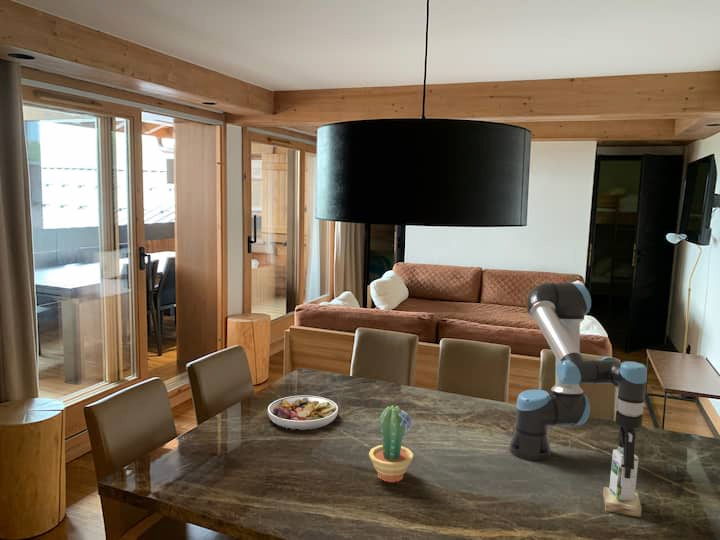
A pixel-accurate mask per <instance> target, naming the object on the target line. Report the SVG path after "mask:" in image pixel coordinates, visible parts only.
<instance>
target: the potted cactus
mask: <svg viewBox="0 0 720 540" xmlns="http://www.w3.org/2000/svg"><path fill="white" fill-rule="evenodd" d="M411 426H412V419H411V417H410V415H409V413H406V412H405V411H404V410H402V409H401V408H400V407H399V406H398V405H397V406H395V405H393V404H392V405H391V406H390V405H389V406H386V407H385V409H384V410H383V412H382V413H381V414H380V416H379V427H380V432H381V437H382V444H380V445H379V444H378V445H377V446H374V447H372V448H371V449H370V450H369V452H368V457H369V459H370V460H371V462H372V466H373V467H374V469H375V470H376V473H377V475H378V476H377V477H378V479H379V478H380V479H379V480H381V479H382V480H381V481H383V480H384V482H386V481H387V482H388V483H396V481H397V482H400V481H401V480H403V478H404V474H405V473H406V472H407V470H408V468H409V465H410V464H411V463H412V461H413V458H414V453H413V452H412V451H411V450H410V448H407V447H406V446H404V445H403V446H402V443H403V437H404V436H405V434H406V433H407V431H408V430H409V429H411Z"/></svg>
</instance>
